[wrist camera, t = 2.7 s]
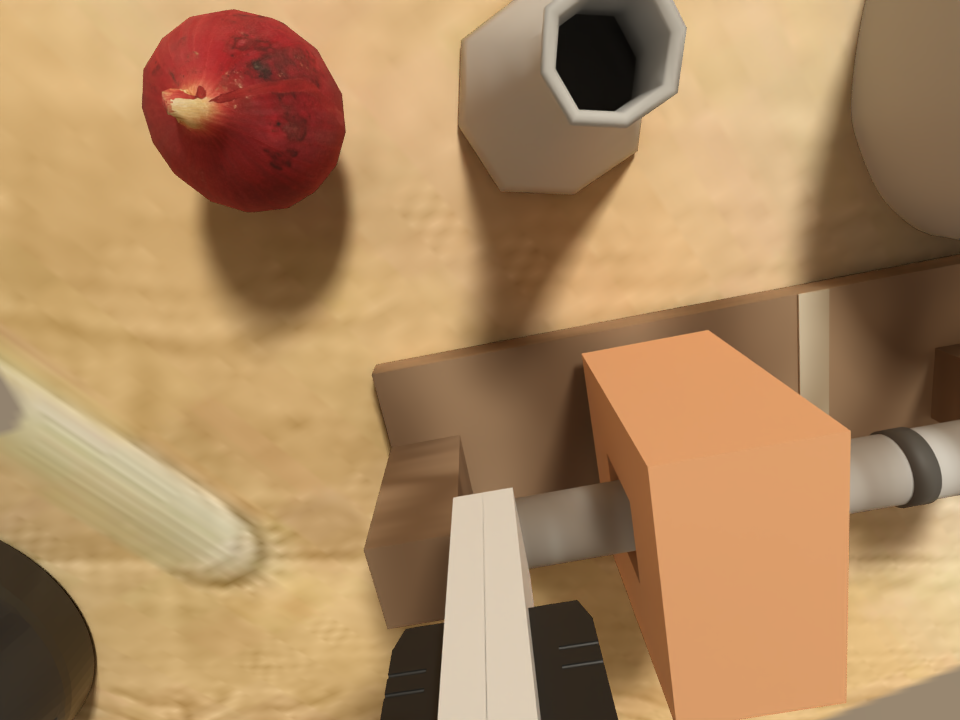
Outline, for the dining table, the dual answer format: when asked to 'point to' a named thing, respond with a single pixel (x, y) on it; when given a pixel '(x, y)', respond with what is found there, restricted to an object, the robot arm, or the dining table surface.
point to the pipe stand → (569, 436)
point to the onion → (243, 110)
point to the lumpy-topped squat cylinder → (911, 109)
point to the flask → (565, 87)
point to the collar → (727, 525)
